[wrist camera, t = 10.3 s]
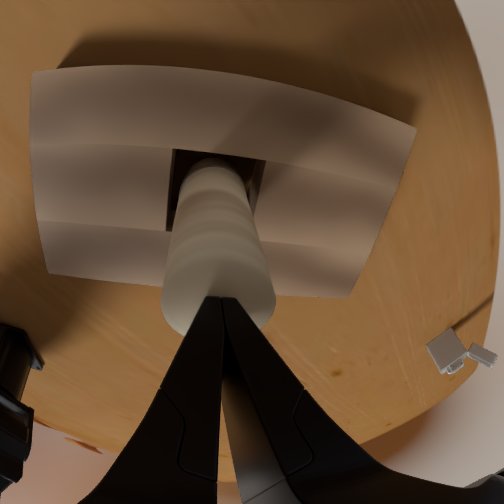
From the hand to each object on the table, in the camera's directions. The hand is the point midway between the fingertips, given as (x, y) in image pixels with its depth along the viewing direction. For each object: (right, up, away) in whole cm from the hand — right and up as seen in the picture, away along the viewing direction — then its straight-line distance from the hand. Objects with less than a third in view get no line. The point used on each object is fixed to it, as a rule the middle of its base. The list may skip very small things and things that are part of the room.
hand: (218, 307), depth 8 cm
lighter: (+26, -9, +23) cm, 36 cm away
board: (-1, +6, +8) cm, 10 cm away
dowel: (-1, +6, +8) cm, 10 cm away
